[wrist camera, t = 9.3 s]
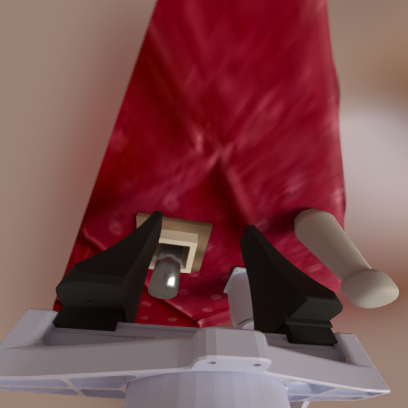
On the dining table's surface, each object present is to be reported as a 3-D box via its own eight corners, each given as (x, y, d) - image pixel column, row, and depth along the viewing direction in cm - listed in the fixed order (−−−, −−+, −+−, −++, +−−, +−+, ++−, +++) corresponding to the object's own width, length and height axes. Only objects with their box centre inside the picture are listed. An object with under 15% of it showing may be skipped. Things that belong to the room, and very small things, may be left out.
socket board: (199, 267, 34) (198, 280, 31) (139, 260, 32) (134, 273, 30) (212, 223, 27) (212, 235, 25) (138, 212, 26) (131, 224, 23)
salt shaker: (293, 236, 29) (347, 320, 18) (284, 213, 26) (342, 296, 15) (328, 223, 27) (412, 306, 16) (323, 197, 24) (419, 278, 14)
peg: (180, 255, 30) (174, 300, 24) (159, 251, 30) (146, 296, 23) (185, 240, 28) (180, 285, 21) (162, 236, 28) (149, 281, 21)
